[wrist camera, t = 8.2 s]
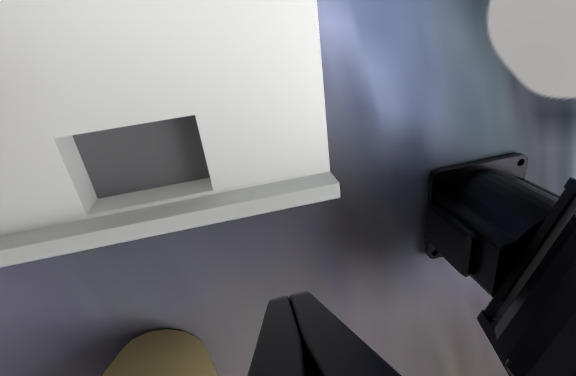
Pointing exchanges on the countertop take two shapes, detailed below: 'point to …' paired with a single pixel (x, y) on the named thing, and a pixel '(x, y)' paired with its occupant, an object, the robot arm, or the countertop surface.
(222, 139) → the board
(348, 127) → the countertop surface
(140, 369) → the squeeze bottle
